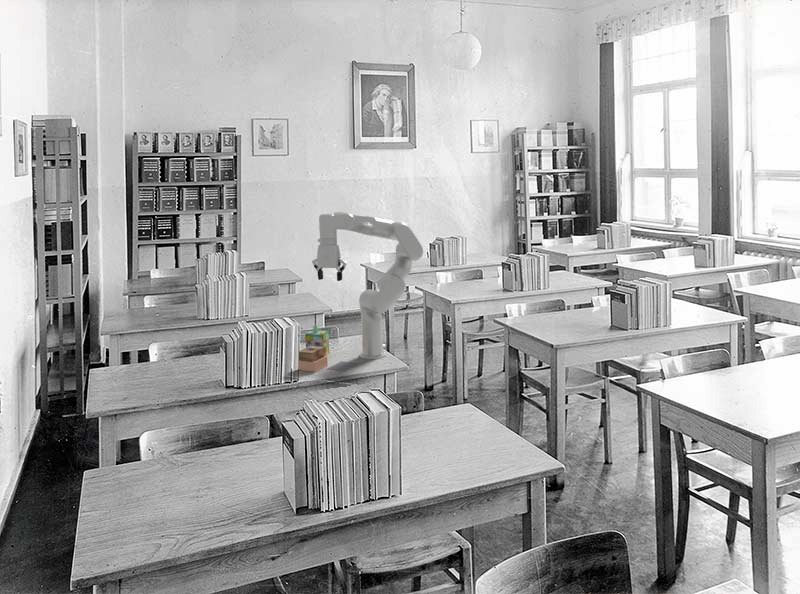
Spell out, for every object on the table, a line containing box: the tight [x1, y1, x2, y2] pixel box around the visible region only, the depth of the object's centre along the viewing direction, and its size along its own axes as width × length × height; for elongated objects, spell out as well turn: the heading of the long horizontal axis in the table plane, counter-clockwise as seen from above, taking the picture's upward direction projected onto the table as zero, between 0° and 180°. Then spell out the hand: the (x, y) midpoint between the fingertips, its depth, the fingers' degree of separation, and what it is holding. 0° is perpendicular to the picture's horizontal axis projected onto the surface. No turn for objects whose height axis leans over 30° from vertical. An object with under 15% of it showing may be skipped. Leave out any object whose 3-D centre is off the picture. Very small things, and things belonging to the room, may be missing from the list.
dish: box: [298, 355, 329, 373], centre depth 326 cm, size 10×10×5 cm
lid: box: [299, 346, 325, 362], centre depth 325 cm, size 11×7×5 cm, turn 154°
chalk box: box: [304, 324, 330, 357], centre depth 346 cm, size 9×9×15 cm
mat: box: [325, 360, 362, 372], centre depth 327 cm, size 14×10×1 cm
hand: (330, 280), depth 328 cm, fingers open, 9 cm apart
